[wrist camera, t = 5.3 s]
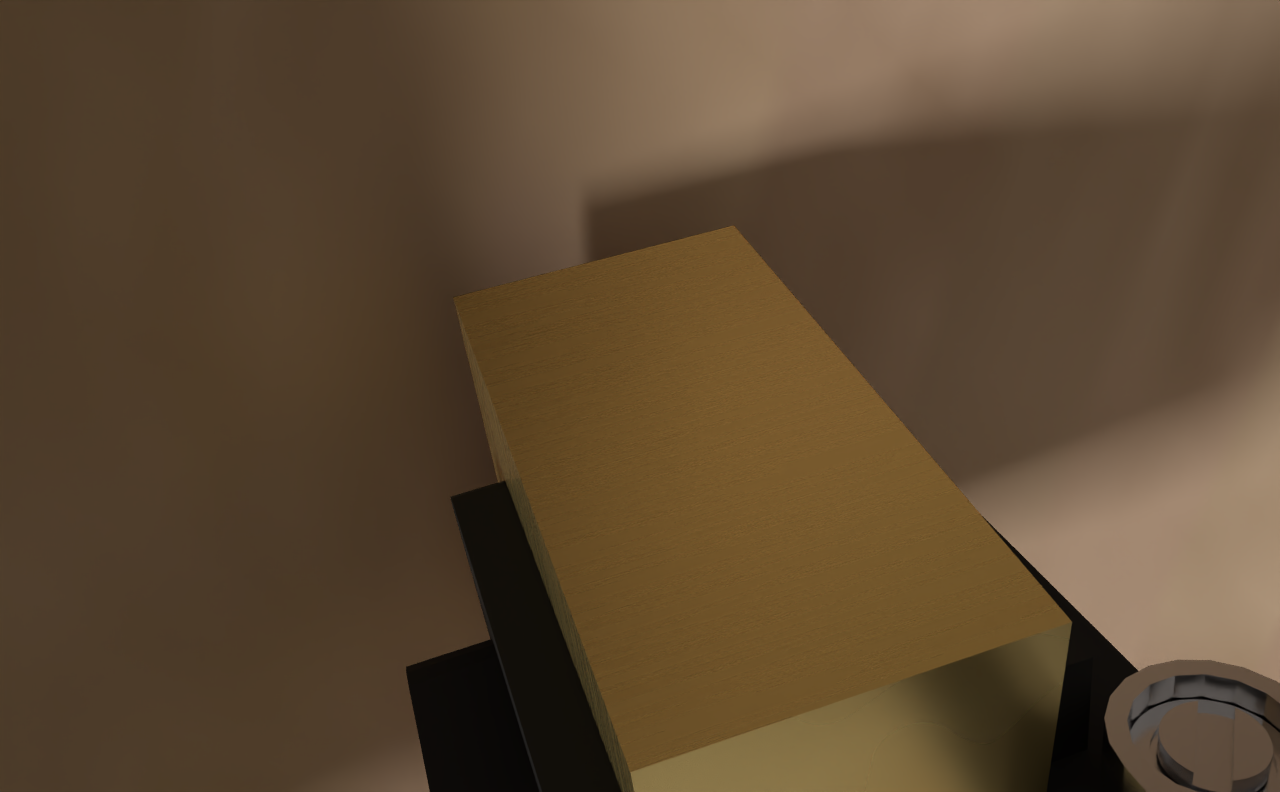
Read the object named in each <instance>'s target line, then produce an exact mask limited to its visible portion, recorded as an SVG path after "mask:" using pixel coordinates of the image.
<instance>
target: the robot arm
mask: <svg viewBox="0 0 1280 792" xmlns="http://www.w3.org/2000/svg"><path fill="white" fill-rule="evenodd" d="M451 501H452V505H453V509H454V512H455V516H456V519H457V523H458V526H459V530H460V533H461V537H462V540H463V544H464V548H465V551H466V555H467V558H468V562H469V565H470V569H471V572H472V576H473V579H474V583H475V586H476V590H477V593H478V597H479V601H480V604H481V608H482V611H483V615H484V618H485V622H486V625H487V629H488V632H489V636H490V639H491V640H488V641H485V642H482V643H479V644H475V645H472V646H469V647H466V648H463V649H460V650H457V651H454V652H451V653H448V654H444V655H441V656H438V657H435V658H432V659H429V660H426V661H423V662H420V663H417V664H413V665H410V666H407V667H406V673H407V679H408V685H409V690H410V695H411V700H412V705H413V710H414V715H415V720H416V725H417V729H418V734H419V739H420V744H421V749H422V754H423V759H424V764H425V769H426V774H427V779H428V784H429V789H430V792H621V789H620V786H619V784H618V781H617V778H616V776H615V773H614V770H613V768H612V765H611V762H610V760H609V757H608V754H607V752H606V749H605V746H604V744H603V741H602V738H601V736H600V733H599V730H598V728H597V725H596V722H595V720H594V717H593V714H592V712H591V709H590V706H589V703H588V701H587V698H586V695H585V693H584V690H583V687H582V685H581V682H580V679H579V677H578V674H577V671H576V669H575V666H574V663H573V661H572V658H571V655H570V653H569V650H568V647H567V645H566V642H565V639H564V637H563V634H562V631H561V629H560V626H559V623H558V621H557V618H556V615H555V613H554V610H553V607H552V604H551V602H550V599H549V596H548V594H547V591H546V588H545V586H544V583H543V580H542V578H541V575H540V572H539V570H538V567H537V564H536V562H535V559H534V556H533V554H532V551H531V548H530V546H529V543H528V540H527V538H526V535H525V532H524V530H523V527H522V524H521V522H520V519H519V516H518V513H517V511H516V508H515V505H514V503H513V500H512V497H511V495H510V492H509V489H508V487H507V484H506V482H505V481H502V482H499V483H495V484H492V485H489V486H485V487H482V488H479V489H475V490H472V491H468V492H465V493H462V494H458V495H455V496H452V497H451ZM980 515H981V514H980ZM981 516H982V515H981ZM982 517H983V516H982ZM983 518H984V517H983ZM984 519H985V518H984ZM985 520H986V519H985ZM986 522H987V523H988V524H989V525H990V526H991V527H992V529H993V530H994V531H995V532H996V533H997V534H998V536H999V537H1000V538H1001V539H1002V540H1003V541H1004V543H1005V544H1006V545H1007V546H1008V547H1009V548H1010V550H1011V551H1012V552H1013V553H1014V554H1015V556H1016V557H1017V558H1018V559H1019V560H1020V561H1021V563H1022V564H1023V565H1024V566H1025V567H1026V568H1027V570H1028V571H1029V572H1030V573H1031V574H1032V575H1033V577H1034V578H1035V579H1036V580H1037V581H1038V582H1039V584H1040V585H1041V586H1042V587H1043V588H1044V590H1045V591H1046V592H1047V593H1048V594H1049V595H1050V597H1051V598H1052V599H1053V600H1054V601H1055V602H1056V604H1057V605H1058V606H1059V607H1060V608H1061V609H1062V611H1063V612H1064V613H1065V614H1066V615H1067V616H1068V618H1069V619H1070V620H1071V621H1072V626H1071V633H1070V639H1069V646H1068V653H1067V659H1066V666H1065V672H1064V679H1063V686H1062V692H1061V699H1060V706H1059V712H1058V719H1057V725H1056V732H1055V739H1054V745H1053V752H1052V758H1051V765H1050V772H1049V778H1048V785H1047V792H1280V683H1278V682H1277V681H1275V680H1272V679H1270V678H1267V677H1265V676H1263V675H1260V674H1258V673H1256V672H1253V671H1251V670H1249V669H1246V668H1244V667H1239V666H1234V665H1230V664H1225V663H1220V662H1216V661H1211V660H1175V661H1170V662H1165V663H1160V664H1155V665H1151V666H1148V667H1146V668H1144V669H1142V670H1140V671H1138V670H1137V669H1136V668H1135V667H1134V666H1133V665H1132V664H1131V663H1130V662H1129V661H1128V660H1127V659H1126V658H1125V657H1124V656H1123V655H1122V654H1121V653H1120V652H1119V651H1118V650H1117V649H1116V648H1115V647H1114V646H1113V645H1112V644H1111V643H1110V642H1109V641H1108V640H1107V639H1106V638H1105V637H1104V636H1103V635H1102V634H1101V633H1100V632H1099V631H1098V630H1097V629H1096V628H1095V627H1094V626H1093V625H1092V624H1091V623H1090V622H1089V621H1088V620H1086V619H1085V618H1084V617H1083V616H1082V615H1081V614H1080V613H1079V612H1078V611H1077V610H1076V609H1075V608H1074V607H1073V606H1072V605H1071V604H1070V603H1069V602H1068V601H1067V600H1066V599H1065V598H1064V597H1063V596H1062V595H1061V594H1060V593H1059V592H1058V591H1057V590H1056V589H1055V588H1054V587H1053V586H1052V585H1051V584H1050V583H1049V582H1048V581H1047V580H1046V579H1045V578H1044V577H1043V576H1042V575H1041V574H1040V573H1039V572H1038V571H1037V570H1036V569H1035V568H1034V567H1033V566H1032V565H1031V564H1030V563H1029V562H1028V561H1027V560H1026V559H1025V558H1024V557H1023V556H1022V555H1021V554H1020V553H1019V552H1018V551H1017V550H1016V549H1015V548H1014V547H1013V546H1012V545H1011V544H1010V543H1009V542H1008V541H1007V540H1006V539H1005V538H1004V537H1003V536H1002V535H1001V534H1000V533H999V532H998V531H997V530H996V529H995V528H994V527H993V526H992V525H991V524H990V523H989V522H988V521H987V520H986Z"/></svg>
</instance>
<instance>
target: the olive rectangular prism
mask: <svg viewBox="0 0 1280 792" xmlns="http://www.w3.org/2000/svg"><path fill="white" fill-rule="evenodd" d="M453 299H454V303H455V307H456V311H457V316H458V320H459V324H460V328H461V332H462V336H463V340H464V345H465V349H466V353H467V357H468V361H469V365H470V369H471V374H472V378H473V382H474V386H475V390H476V394H477V398H478V403H479V407H480V411H481V415H482V419H483V423H484V427H485V432H486V436H487V440H488V444H489V448H490V452H491V456H492V461H493V465H494V469H495V473H496V477H497V481H498V483H499V482H502V481H505V482H506V484H507V487H508V489H509V492H510V495H511V497H512V500H513V503H514V505H515V508H516V511H517V513H518V516H519V519H520V522H521V524H522V527H523V530H524V532H525V535H526V538H527V540H528V543H529V546H530V548H531V551H532V554H533V556H534V559H535V562H536V564H537V567H538V570H539V572H540V575H541V578H542V580H543V583H544V586H545V588H546V591H547V594H548V596H549V599H550V602H551V604H552V607H553V610H554V613H555V615H556V618H557V621H558V623H559V626H560V629H561V631H562V634H563V637H564V639H565V642H566V645H567V647H568V650H569V653H570V655H571V658H572V661H573V663H574V666H575V669H576V671H577V674H578V677H579V679H580V682H581V685H582V687H583V690H584V693H585V695H586V698H587V701H588V703H589V706H590V709H591V712H592V714H593V717H594V720H595V722H596V725H597V728H598V730H599V733H600V736H601V738H602V741H603V744H604V746H605V749H606V752H607V754H608V757H609V760H610V762H611V765H612V768H613V770H614V773H615V776H616V778H617V781H618V784H619V786H620V789H621V792H1047V785H1048V778H1049V772H1050V765H1051V758H1052V752H1053V745H1054V739H1055V732H1056V725H1057V719H1058V712H1059V706H1060V699H1061V692H1062V686H1063V679H1064V672H1065V666H1066V659H1067V653H1068V646H1069V639H1070V633H1071V626H1072V621H1071V620H1070V619H1069V618H1068V616H1067V615H1066V614H1065V613H1064V612H1063V611H1062V609H1061V608H1060V607H1059V606H1058V605H1057V604H1056V602H1055V601H1054V600H1053V599H1052V598H1051V597H1050V595H1049V594H1048V593H1047V592H1046V591H1045V590H1044V588H1043V587H1042V586H1041V585H1040V584H1039V582H1038V581H1037V580H1036V579H1035V578H1034V577H1033V575H1032V574H1031V573H1030V572H1029V571H1028V570H1027V568H1026V567H1025V566H1024V565H1023V564H1022V563H1021V561H1020V560H1019V559H1018V558H1017V557H1016V556H1015V554H1014V553H1013V552H1012V551H1011V550H1010V548H1009V547H1008V546H1007V545H1006V544H1005V543H1004V541H1003V540H1002V539H1001V538H1000V537H999V536H998V534H997V533H996V532H995V531H994V530H993V529H992V527H991V526H990V525H989V524H988V523H987V522H986V520H985V519H984V518H983V517H982V516H981V515H980V513H979V512H978V511H977V510H976V509H975V507H974V506H973V505H972V504H971V503H970V502H969V500H968V499H967V498H966V497H965V496H964V495H963V493H962V492H961V491H960V490H959V489H958V488H957V486H956V485H955V484H954V483H953V482H952V481H951V479H950V478H949V477H948V476H947V475H946V473H945V472H944V471H943V470H942V469H941V468H940V466H939V465H938V464H937V463H936V462H935V461H934V459H933V458H932V457H931V456H930V455H929V454H928V452H927V451H926V450H925V449H924V448H923V447H922V445H921V444H920V443H919V442H918V441H917V439H916V438H915V437H914V436H913V435H912V434H911V432H910V431H909V430H908V429H907V428H906V427H905V425H904V424H903V423H902V422H901V421H900V420H899V418H898V417H897V416H896V415H895V414H894V413H893V411H892V410H891V409H890V408H889V407H888V406H887V404H886V403H885V402H884V401H883V400H882V398H881V397H880V396H879V395H878V394H877V393H876V391H875V390H874V389H873V388H872V387H871V386H870V384H869V383H868V382H867V381H866V380H865V379H864V377H863V376H862V375H861V374H860V373H859V372H858V370H857V369H856V368H855V367H854V366H853V364H852V363H851V362H850V361H849V360H848V359H847V357H846V356H845V355H844V354H843V353H842V352H841V350H840V349H839V348H838V347H837V346H836V345H835V343H834V342H833V341H832V340H831V339H830V338H829V336H828V335H827V334H826V333H825V332H824V331H823V329H822V328H821V327H820V326H819V325H818V323H817V322H816V321H815V320H814V319H813V318H812V316H811V315H810V314H809V313H808V312H807V311H806V309H805V308H804V307H803V306H802V305H801V304H800V302H799V301H798V300H797V299H796V298H795V297H794V295H793V294H792V293H791V292H790V291H789V289H788V288H787V287H786V286H785V285H784V284H783V282H782V281H781V280H780V279H779V278H778V277H777V275H776V274H775V273H774V272H773V271H772V270H771V268H770V267H769V266H768V265H767V264H766V263H765V261H764V260H763V259H762V258H761V257H760V255H759V254H758V253H757V252H756V251H755V250H754V248H753V247H752V246H751V245H750V244H749V243H748V241H747V240H746V239H745V238H744V237H743V236H742V234H741V233H740V232H739V231H738V230H737V229H736V227H735V226H734V225H733V226H729V227H725V228H722V229H718V230H714V231H710V232H706V233H702V234H698V235H694V236H690V237H687V238H683V239H679V240H675V241H671V242H667V243H663V244H659V245H655V246H652V247H648V248H644V249H640V250H636V251H632V252H628V253H624V254H620V255H616V256H613V257H609V258H605V259H601V260H597V261H593V262H589V263H585V264H581V265H578V266H574V267H570V268H566V269H562V270H558V271H554V272H550V273H546V274H542V275H539V276H535V277H531V278H527V279H523V280H519V281H515V282H511V283H507V284H504V285H500V286H496V287H492V288H488V289H484V290H480V291H476V292H472V293H469V294H465V295H461V296H457V297H453Z"/></svg>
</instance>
